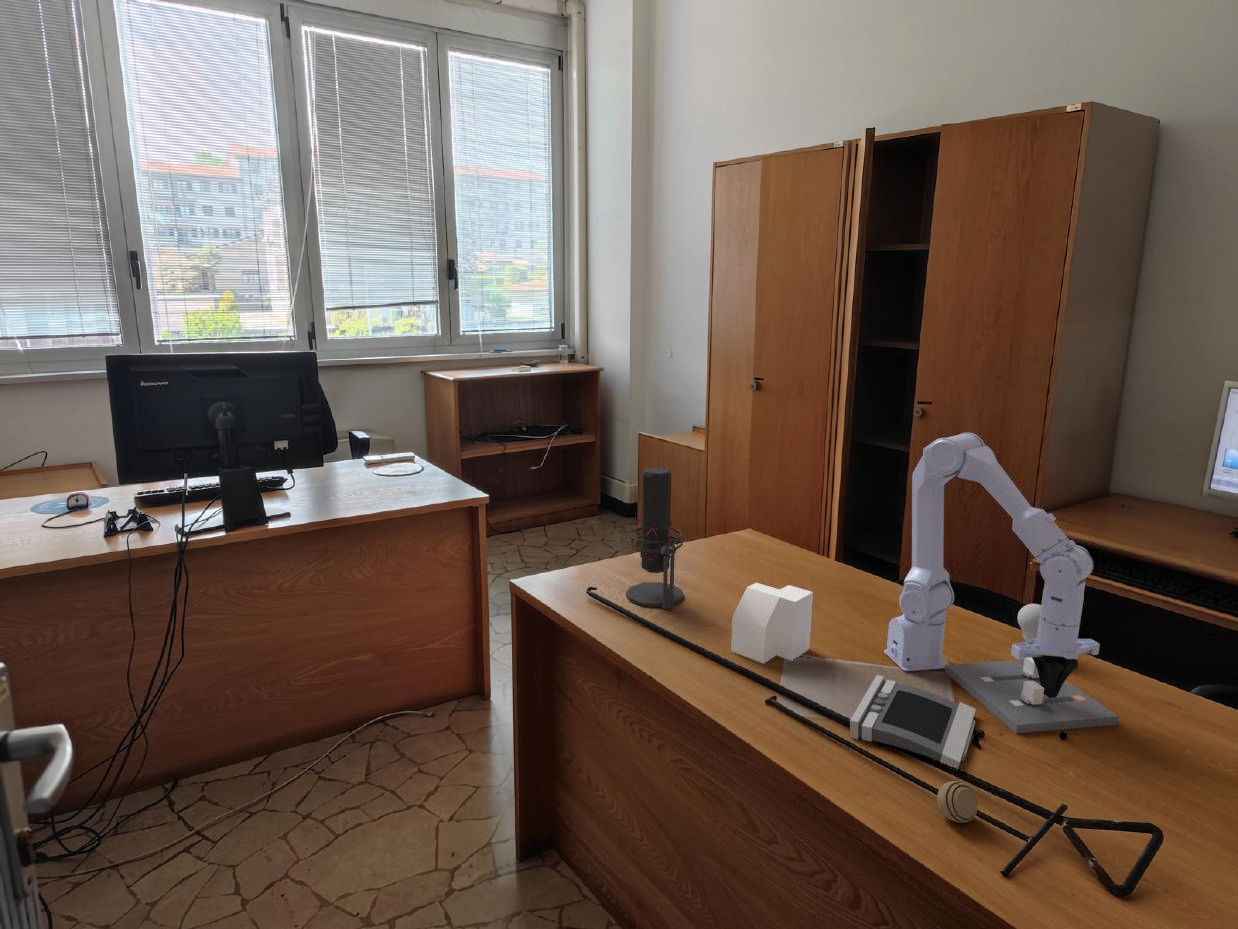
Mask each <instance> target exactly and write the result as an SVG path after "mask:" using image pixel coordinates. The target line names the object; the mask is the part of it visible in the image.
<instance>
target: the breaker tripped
mask: <svg viewBox="0 0 1238 929" xmlns="http://www.w3.org/2000/svg"><path fill="white" fill-rule="evenodd" d="M1043 693H1044V688H1043V687H1042V686H1040V685H1039V684H1037V683H1036V682H1035V681H1024V683H1023V691H1022V695H1020V698H1021V699H1022V700H1023V701H1025V702H1026V703H1027V704H1032V705H1033V704H1042V703H1044V699H1043Z"/></svg>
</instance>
